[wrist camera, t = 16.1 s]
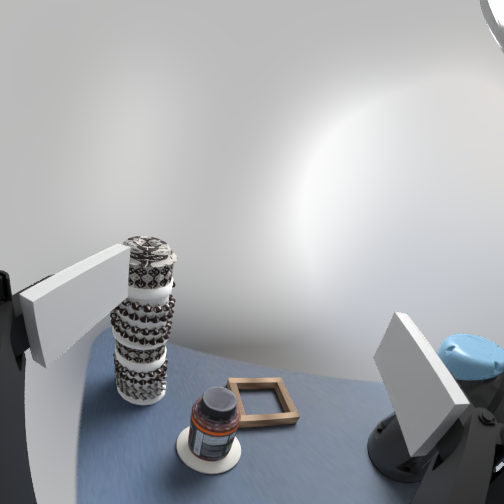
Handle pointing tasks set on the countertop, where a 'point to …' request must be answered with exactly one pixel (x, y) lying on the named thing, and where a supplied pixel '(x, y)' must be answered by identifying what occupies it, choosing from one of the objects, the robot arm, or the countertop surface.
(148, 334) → the decorative candle
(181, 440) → the white domed disc
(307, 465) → the countertop surface
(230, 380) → the holder
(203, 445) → the supplement bottle
